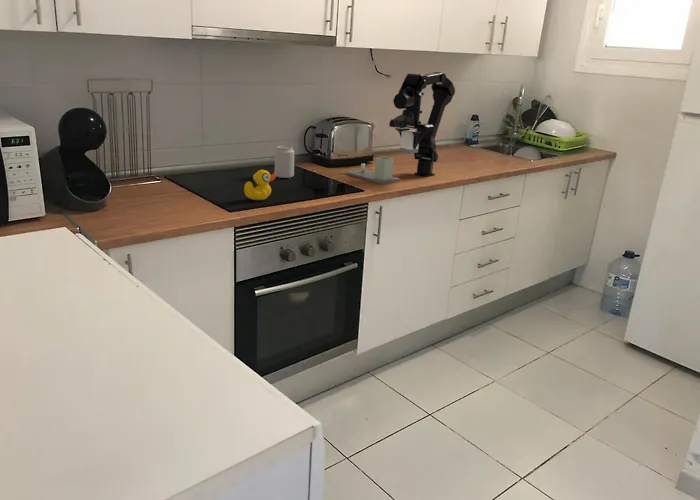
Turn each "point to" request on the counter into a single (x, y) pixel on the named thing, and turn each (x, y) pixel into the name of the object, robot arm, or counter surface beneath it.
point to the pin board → (377, 171)
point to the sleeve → (408, 142)
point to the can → (284, 162)
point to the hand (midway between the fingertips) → (409, 147)
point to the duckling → (259, 185)
